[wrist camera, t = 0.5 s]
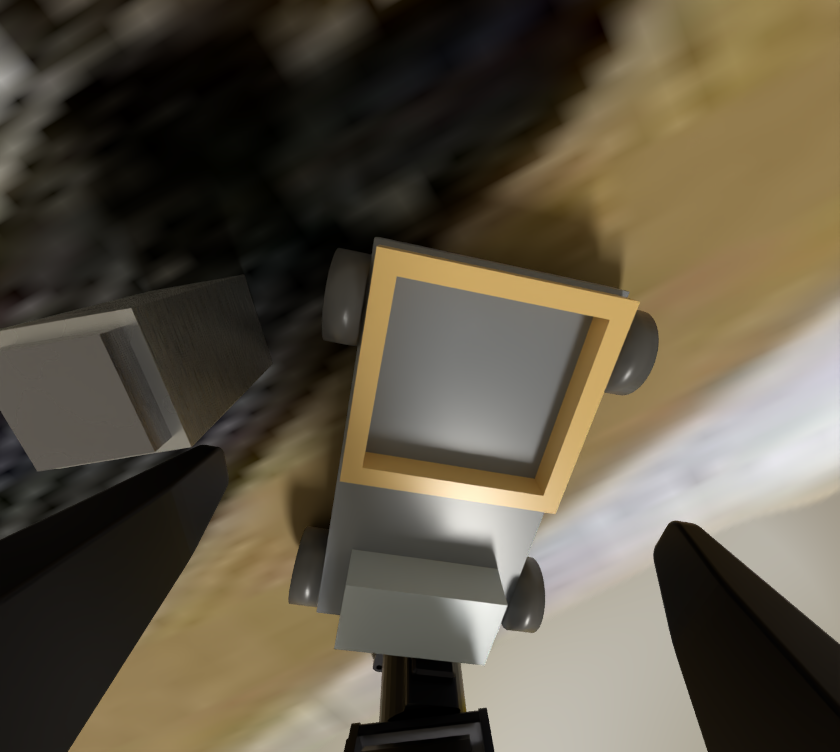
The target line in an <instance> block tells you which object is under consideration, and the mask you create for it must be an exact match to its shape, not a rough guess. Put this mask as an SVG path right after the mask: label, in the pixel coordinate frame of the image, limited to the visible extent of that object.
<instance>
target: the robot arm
mask: <svg viewBox="0 0 840 752" xmlns="http://www.w3.org/2000/svg"><path fill="white" fill-rule="evenodd" d="M228 479H229V477H228V471H227V466H226V461H225V456H224V452H223V450H222V449H221V448H219V447H215V446H209V445H199V446H197V447H195V448H193V449H190V450H188V451H186V452H184V453H182V454H180V455H178V456H176V457H174V458H171V459H169V460H167V461H165V462H163V463H161V464H159V465H157V466H155V467H153V468H150V469H148V470H146V471H144V472H142V473H140V474H138V475H136V476H134V477H131V478H129V479H127V480H125V481H123V482H121V483H119V484H117V485H115V486H113V487H110V488H108V489H106V490H104V491H102V492H100V493H98V494H96V495H94V496H91V497H89V498H87V499H85V500H83V501H81V502H79V503H77V504H75V505H73V506H70V507H68V508H66V509H64V510H62V511H60V512H58V513H56V514H54V515H51V516H49V517H47V518H45V519H43V520H41V521H39V522H37V523H35V524H32V525H30V526H28V527H26V528H24V529H22V530H20V531H18V532H16V533H13V534H11V535H9V536H7V537H5V538H3V539H1V540H0V752H68V750H69V749H70V747H71V746H72V744H73V743H74V741H75V739H76V738H77V736H78V735H79V733H80V732H81V730H82V728H83V727H84V725H85V724H86V722H87V721H88V719H89V717H90V716H91V714H92V713H93V711H94V710H95V708H96V706H97V705H98V703H99V702H100V700H101V699H102V697H103V695H104V694H105V692H106V691H107V689H108V688H109V686H110V684H111V683H112V681H113V680H114V678H115V677H116V675H117V673H118V672H119V670H120V669H121V667H122V666H123V664H124V662H125V661H126V659H127V658H128V656H129V654H130V653H131V651H132V650H133V648H134V647H135V645H136V643H137V642H138V640H139V639H140V637H141V636H142V634H143V632H144V631H145V629H146V628H147V626H148V625H149V623H150V621H151V620H152V618H153V617H154V615H155V614H156V612H157V610H158V609H159V607H160V606H161V604H162V603H163V601H164V599H165V598H166V596H167V595H168V593H169V592H170V590H171V588H172V587H173V585H174V584H175V582H176V581H177V579H178V577H179V576H180V574H181V573H182V571H183V570H184V568H185V566H186V565H187V563H188V561H189V560H190V558H191V556H192V555H193V553H194V551H195V549H196V547H197V545H198V543H199V541H200V539H201V537H202V535H203V533H204V531H205V530H206V528H207V526H208V524H209V522H210V520H211V518H212V516H213V514H214V512H215V510H216V508H217V506H218V504H219V502H220V500H221V498H222V496H223V494H224V492H225V490H226V488H227V485H228ZM653 557H654V564H655V568H656V573H657V577H658V581H659V586H660V590H661V595H662V600H663V604H664V608H665V613H666V617H667V622H668V626H669V631H670V635H671V639H672V643H673V646H674V649H675V653H676V656H677V659H678V662H679V665H680V668H681V671H682V674H683V678H684V681H685V684H686V686H687V690H688V693H689V695H690V699H691V702H692V705H693V708H694V711H695V714H696V717H697V720H698V723H699V726H700V729H701V732H702V735H703V739H704V741H705V745H706V748H707V751H708V752H840V644H839V643H838V642H836V641H835V640H834V639H833V638H832V637H831V636H829V635H828V634H827V633H825V632H824V631H823V630H822V629H821V628H820V627H819V626H817V625H816V624H815V623H814V622H813V621H812V620H810V619H809V618H808V617H807V616H806V615H804V614H803V613H802V612H801V611H799V610H798V609H797V608H796V607H795V606H794V605H792V604H791V603H790V602H789V601H788V600H786V599H785V598H784V597H783V596H782V595H780V594H779V593H778V592H777V591H776V590H775V589H773V588H772V587H771V586H770V585H769V584H767V583H766V582H765V581H764V580H762V579H761V578H760V577H759V576H758V575H757V574H755V573H754V572H753V571H752V570H751V569H749V568H748V567H747V566H746V565H745V564H744V563H742V562H741V561H740V560H739V559H738V558H736V557H735V556H734V555H733V554H732V553H730V552H729V551H728V550H727V549H726V548H724V547H723V546H722V545H721V544H720V543H718V542H717V541H716V540H715V539H714V538H713V537H711V536H710V535H709V534H708V533H707V532H705V531H704V530H703V529H702V528H701V527H699V526H698V525H696V524H693V523H688V522H681V521H672V522H670V523H669V524H668V525H667V527H666V529H665V531H664V532H663V534H662V536H661V537H660V539H659V541H658V542H657V544H656V546H655V548H654V554H653ZM373 669H374V670H375V671H377V672H382V682H381V699H380V716H379V722H377V723H368V724H361V723H352V724H351V728H350V733H349V738H348V739H347V740H346V744H345V750H344V752H494V747H493V742H492V736H491V730H490V724H489V718H488V713H487V708H480V709H478V711H470V712H466V704H465V696H464V688H463V679H462V671H461V663H458V662H449V661H440V660H431V659H422V658H413V657H404V656H395V655H385V654H376V653H375V657H374V661H373Z"/></svg>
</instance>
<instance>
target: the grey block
mask: <svg viewBox="0 0 840 752" xmlns="http://www.w3.org/2000/svg"><path fill="white" fill-rule="evenodd" d="M272 364H273V363H272V360H271V356H270V353H269V350H268V347H267V344H266V341H265V338H264V334H263V331H262V328H261V325H260V322H259V319H258V316H257V312H256V309H255V306H254V303H253V300H252V297H251V294H250V290H249V287H248V284H247V281H246V278H245V275H238V276H233V277H227V278H221V279H216V280H210V281H204V282H199V283H193V284H187V285H182V286H176V287H170V288H165V289H159V290H153V291H149V292H145V293H141V294H137V295H133V296H129V297H125V298H121V299H117V300H113V301H110V302H106V303H102V304H98V305H94V306H90V307H86V308H82V309H78V310H74V311H70V312H66V313H62V314H58V315H54V316H50V317H46V318H42V319H38V320H35V321H31V322H27V323H23V324H19V325H15V326H11V327H7V328H3V329H0V411H1V412H2V414H3V416H4V417H5V419H6V420H7V422H8V424H9V425H10V427H11V429H12V430H13V432H14V434H15V435H16V437H17V438H18V440H19V442H20V443H21V445H22V447H23V448H24V450H25V452H26V453H27V455H28V457H29V458H30V460H31V461H32V463H33V465H34V466H35V468H36V470H37V471H43V470H50V469H59V468H65V467H71V466H77V465H84V464H90V463H96V462H102V461H108V460H114V459H120V458H127V457H133V456H139V455H145V454H151V453H157V452H163V451H169V450H176V449H182V448H188V447H192V446H193V445H194V444H195V443H196V442H197V441H198V440H199V439H200V438H201V437H202V436H203V434H204V433H205V432H206V431H207V430H208V429H209V428H210V427H211V426H212V425H213V424H214V423H215V422H216V421H217V420H218V419H219V418H220V417H221V416H222V415H223V414H224V413H225V412H226V411H227V410H228V409H229V408H230V407H231V406H232V405H233V404H234V403H235V402H236V401H237V400H238V399H239V398H240V397H241V396H242V395H243V394H244V393H245V392H246V391H247V390H248V389H249V388H250V387H251V386H252V384H253V383H254V382H255V381H256V380H257V379H258V378H259V377H260V376H261V375H262V374H263V373H264V372H265V371H266V370H267V369H268V368H269V367H270V366H271V365H272Z"/></svg>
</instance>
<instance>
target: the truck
mask: <svg viewBox="0 0 840 752" xmlns="http://www.w3.org/2000/svg"><path fill="white" fill-rule="evenodd" d="M628 294H629V292H628V291H625V290H621V289H618V288H615V287H610V286H606V285H601V284H596V283H592V282H587V281H582V280H578V279H573V278H568V277H564V276H559V275H554V274H550V273H545V272H540V271H535V270H531V269H526V268H521V267H517V266H512V265H507V264H503V263H498V262H493V261H489V260H484V259H479V258H475V257H470V256H465V255H461V254H456V253H451V252H447V251H442V250H437V249H433V248H428V247H423V246H418V245H414V244H409V243H404V242H400V241H395V240H390V239H386V238H381V237H375V238H374V244H373V250H372V255H371V254H366V253H362V252H357V251H352V250H347V249H342V248H337V250H336V252H335V254H334V256H333V259H332V262H331V266H330V269H329V274H328V278H327V283H326V289H325V295H324V302H323V312H322V336H323V339H324V340H325V341H330V342H335V343H341V344H346V345H352V346H357V354H356V360H355V367H354V373H353V380H352V386H351V393H350V399H349V406H348V412H347V419H346V425H345V432H344V438H343V445H342V451H341V457H340V464H339V470H338V477H337V483H336V490H335V496H334V503H333V509H332V516H331V522H330V529H324V528H317V527H310V526H307V527H306V528H305V530H304V533H303V536H302V539H301V542H300V545H299V549H298V553H297V556H296V560H295V565H294V569H293V574H292V579H291V584H290V590H289V604H295V605H304V606H312V607H317V612H318V613H327V614H335V615H340V619H339V624H338V630H337V636H336V642H335V647H334V649H340V650H349V651H358V652H367V653H376V654H385V655H395V656H404V657H413V658H422V659H431V660H440V661H449V662H458V663H467V664H477V665H485V663H486V660H487V657H488V655H489V652H490V650H491V647H492V644H493V642H494V639H495V637H496V634H498V631H499V628H500V626H501V624H502V626H503V627H504V628H505V629H506V630H512V631H521V632H529V633H534V632H536V631H537V630H538V628H539V627H540V625H541V622H542V619H543V615H544V608H545V588H544V581H543V576H542V572H541V569H540V567H539V565H538V563H537V562H536V560H535V559H534V558H531V557H527V556H528V553H529V551H530V548H531V546H532V543H533V540H534V538H535V535H536V533H537V530H538V527H539V525H540V522H541V520H542V517H543V514H544V512H545V513H552V514H556V511H557V509H558V506H559V504H560V501H561V499H562V496H563V494H564V491H565V489H566V486H567V484H568V481H569V479H570V476H571V474H572V471H573V469H574V466H575V464H576V461H577V459H578V456H579V454H580V451H581V449H582V446H583V444H584V441H585V439H586V436H587V434H588V431H589V429H590V426H591V424H592V421H593V419H594V416H595V414H596V411H597V409H598V406H599V404H600V401H601V399H602V396H603V394H604V392H605V393H610V394H616V395H627V394H630V393H632V392H634V391H635V390H637V389H638V388H639V387H640V386H641V385H642V384H643V383H644V381H645V380H646V379H647V377H648V375H649V374H650V372H651V370H652V368H653V365H654V363H655V359H656V356H657V351H658V341H659V337H658V330H657V326H656V323H655V321H654V319H653V318H652V317H651V315H649V314H648V313H646V312H644V311H639V310H637V308H638V306H639V303H640V302H639V301H636V300H633V299H630V298H627V297H628ZM317 604H318V606H317Z"/></svg>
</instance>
